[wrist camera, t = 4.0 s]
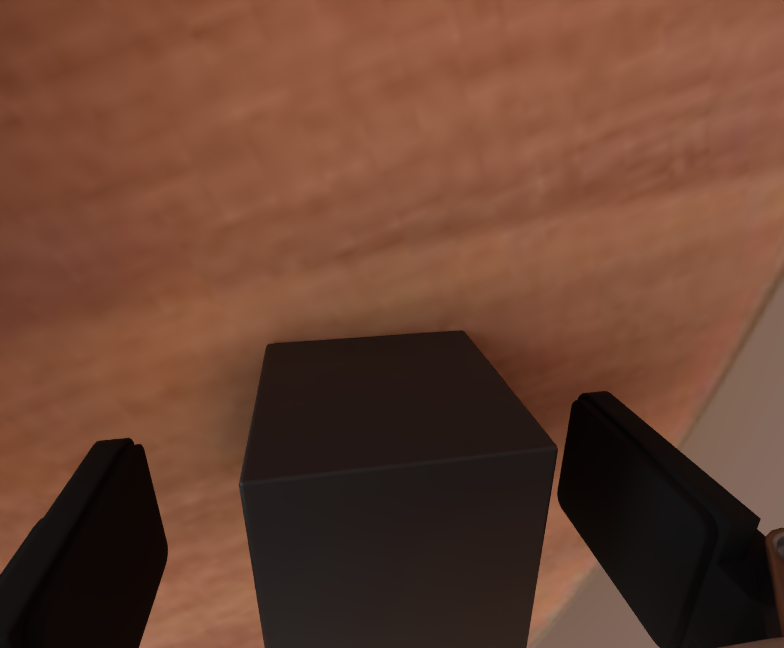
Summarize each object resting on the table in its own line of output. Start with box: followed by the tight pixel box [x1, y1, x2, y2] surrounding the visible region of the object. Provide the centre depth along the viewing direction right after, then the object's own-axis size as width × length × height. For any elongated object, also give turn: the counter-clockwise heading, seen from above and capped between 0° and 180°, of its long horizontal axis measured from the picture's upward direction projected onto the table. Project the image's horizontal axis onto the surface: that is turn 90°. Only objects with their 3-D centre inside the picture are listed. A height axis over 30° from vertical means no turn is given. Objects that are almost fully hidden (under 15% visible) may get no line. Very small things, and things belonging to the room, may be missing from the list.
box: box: [239, 331, 558, 648], centre depth 10 cm, size 5×5×5 cm
